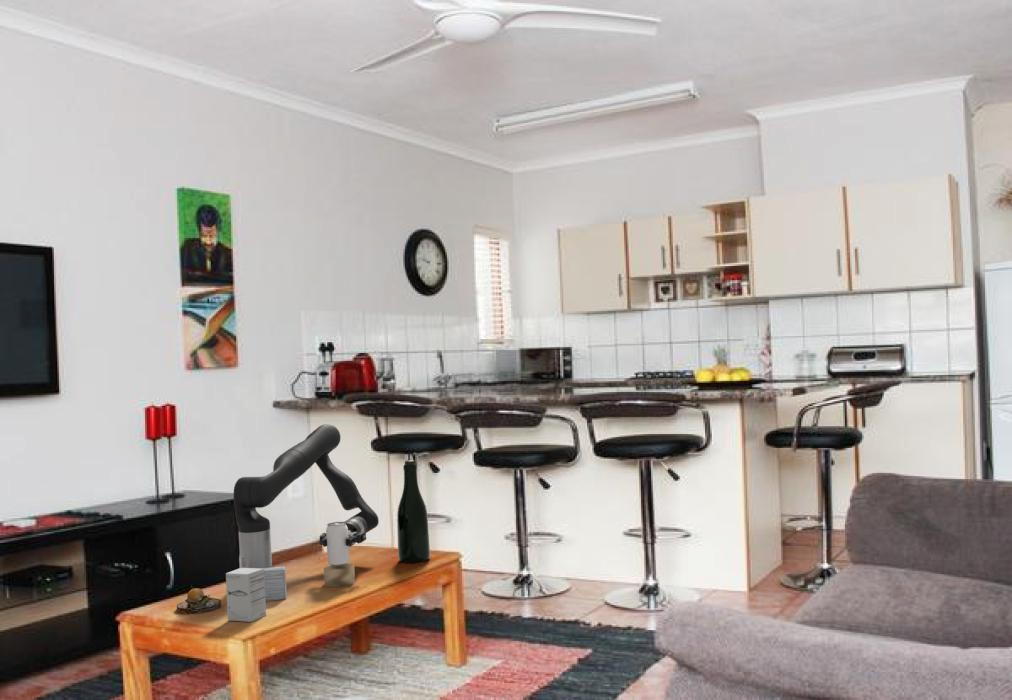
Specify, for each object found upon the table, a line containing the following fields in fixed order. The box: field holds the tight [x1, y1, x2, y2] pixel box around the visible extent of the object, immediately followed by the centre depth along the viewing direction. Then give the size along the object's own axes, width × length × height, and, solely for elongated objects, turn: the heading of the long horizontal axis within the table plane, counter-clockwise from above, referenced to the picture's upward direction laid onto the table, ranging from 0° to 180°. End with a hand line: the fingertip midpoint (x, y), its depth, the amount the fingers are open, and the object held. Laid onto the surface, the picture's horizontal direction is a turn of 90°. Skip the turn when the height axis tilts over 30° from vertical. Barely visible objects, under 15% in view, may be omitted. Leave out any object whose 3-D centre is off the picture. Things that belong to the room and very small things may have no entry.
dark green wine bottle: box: [396, 459, 431, 564], centre depth 317 cm, size 10×10×33 cm
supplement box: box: [225, 567, 267, 623], centre depth 253 cm, size 7×7×13 cm
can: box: [325, 521, 351, 566], centre depth 288 cm, size 6×6×12 cm
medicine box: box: [261, 565, 288, 602], centre depth 273 cm, size 8×4×9 cm, turn 100°
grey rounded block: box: [323, 563, 356, 588], centre depth 288 cm, size 9×9×5 cm
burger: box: [176, 584, 222, 615], centre depth 267 cm, size 12×12×8 cm
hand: (335, 542), depth 286 cm, fingers closed on can, 6 cm apart
